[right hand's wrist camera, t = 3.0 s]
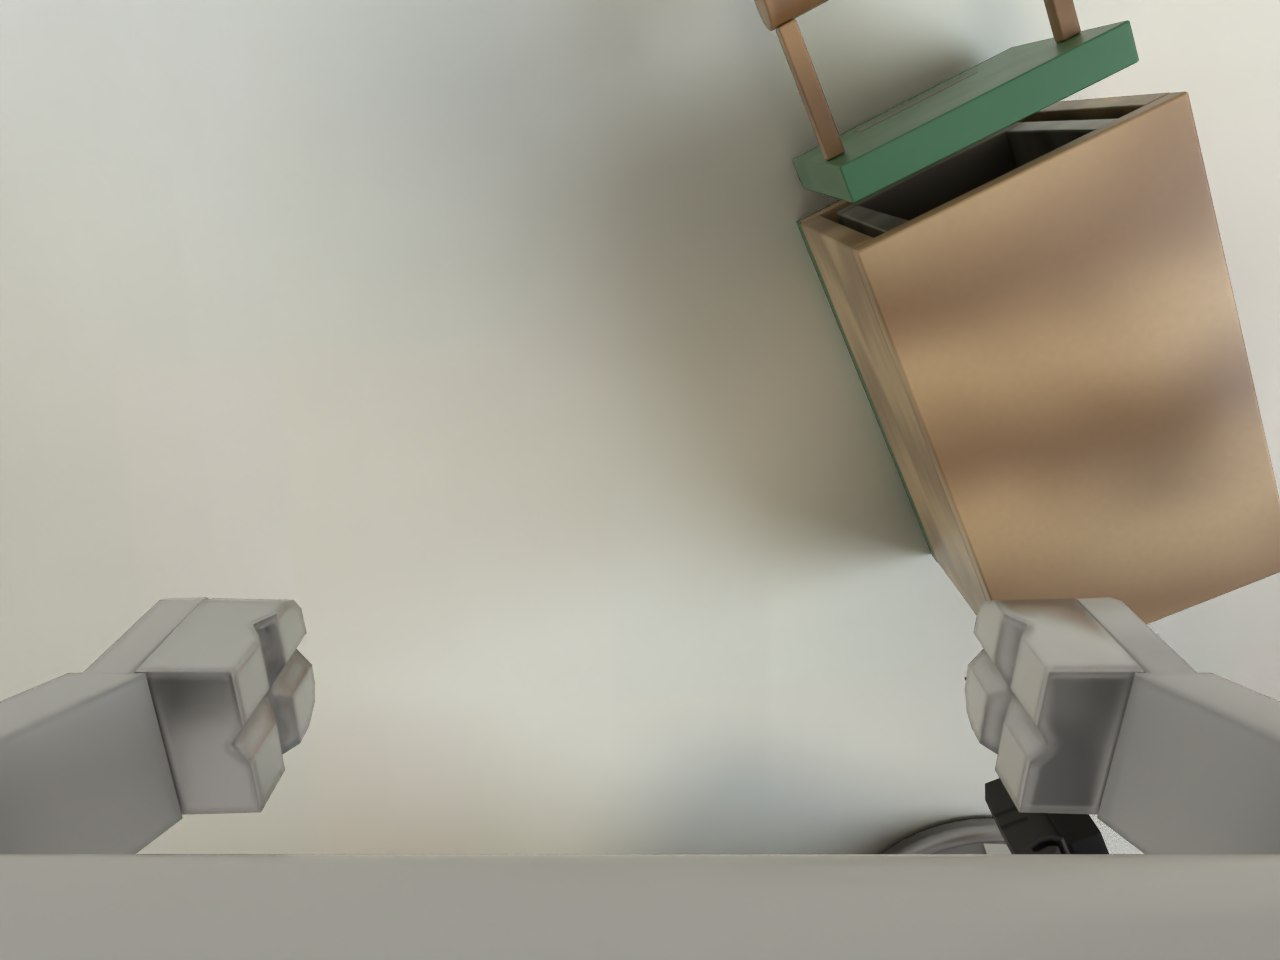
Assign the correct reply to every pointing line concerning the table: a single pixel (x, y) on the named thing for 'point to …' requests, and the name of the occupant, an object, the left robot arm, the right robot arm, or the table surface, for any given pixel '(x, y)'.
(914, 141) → the drawer
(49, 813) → the right robot arm
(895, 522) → the table surface
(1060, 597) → the tan storage bin
